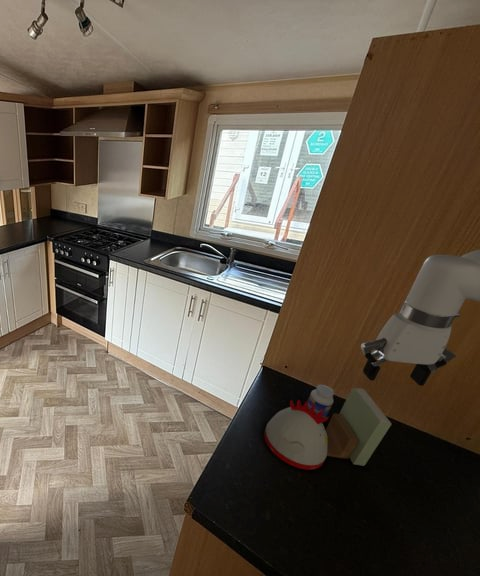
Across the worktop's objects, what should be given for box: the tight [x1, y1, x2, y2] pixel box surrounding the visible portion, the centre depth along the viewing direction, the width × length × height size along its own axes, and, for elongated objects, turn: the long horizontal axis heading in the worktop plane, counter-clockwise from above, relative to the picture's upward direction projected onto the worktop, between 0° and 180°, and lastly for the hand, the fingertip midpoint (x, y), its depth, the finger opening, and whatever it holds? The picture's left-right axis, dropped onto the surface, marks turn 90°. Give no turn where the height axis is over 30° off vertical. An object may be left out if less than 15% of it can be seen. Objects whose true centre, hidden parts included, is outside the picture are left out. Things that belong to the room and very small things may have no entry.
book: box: [338, 387, 392, 467], centre depth 79 cm, size 15×11×2 cm
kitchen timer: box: [263, 399, 330, 471], centre depth 79 cm, size 14×14×15 cm
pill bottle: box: [307, 384, 335, 418], centre depth 89 cm, size 5×5×10 cm
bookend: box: [325, 413, 358, 460], centre depth 81 cm, size 5×8×7 cm, turn 170°
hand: (391, 378), depth 71 cm, fingers open, 9 cm apart
